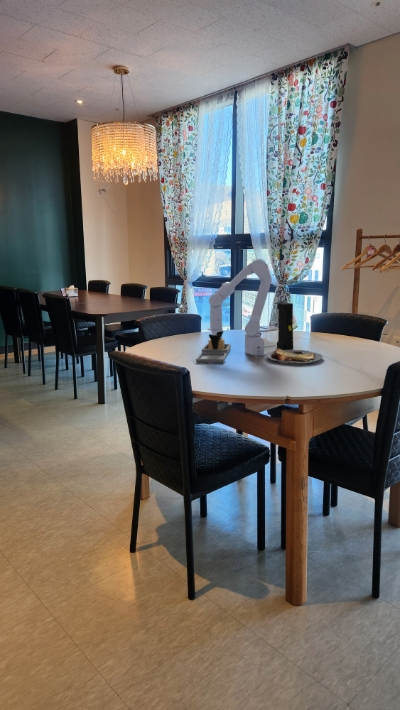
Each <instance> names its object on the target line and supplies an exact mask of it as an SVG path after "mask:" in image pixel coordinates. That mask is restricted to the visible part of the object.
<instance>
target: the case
mask: <svg viewBox="0 0 400 710" xmlns="http://www.w3.org/2000/svg"><path fill="white" fill-rule="evenodd" d="M231 347H232V345H231V343H224V348H225V349H209V346H208V343H206V344H205V345H204V346H203V347H202V348H201V352H208V353H227V356H228V355H229V353H230V351H231V350H232V349H231Z"/></svg>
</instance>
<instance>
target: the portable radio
mask: <svg viewBox="0 0 400 710" xmlns="http://www.w3.org/2000/svg"><path fill="white" fill-rule="evenodd" d="M276 309H278V322H277V323H278V324H277V325H278V326H277V328H278V329H277V331H278V334H277V335H278V337H277V342H276V349H278V348H279V349H281V350H294V348H295V347H294V326H293V324H294V317H293V316H294V311H293V310H294V303H292V302H283V300H282V297H280V302H278V303H277V305H276Z"/></svg>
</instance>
